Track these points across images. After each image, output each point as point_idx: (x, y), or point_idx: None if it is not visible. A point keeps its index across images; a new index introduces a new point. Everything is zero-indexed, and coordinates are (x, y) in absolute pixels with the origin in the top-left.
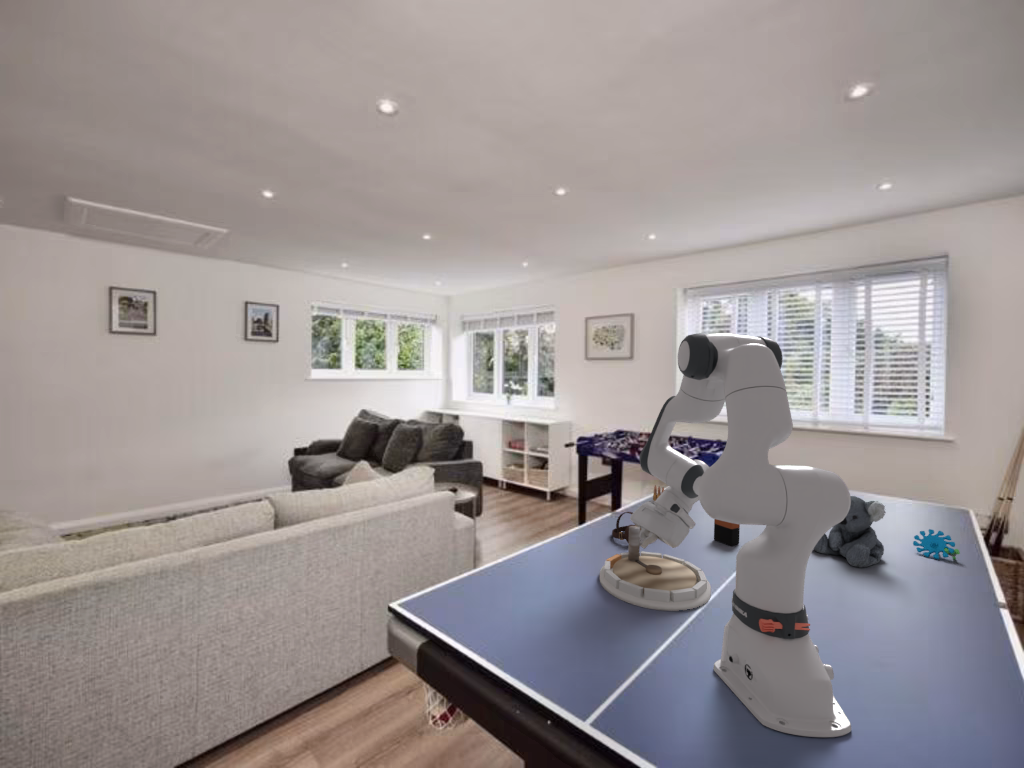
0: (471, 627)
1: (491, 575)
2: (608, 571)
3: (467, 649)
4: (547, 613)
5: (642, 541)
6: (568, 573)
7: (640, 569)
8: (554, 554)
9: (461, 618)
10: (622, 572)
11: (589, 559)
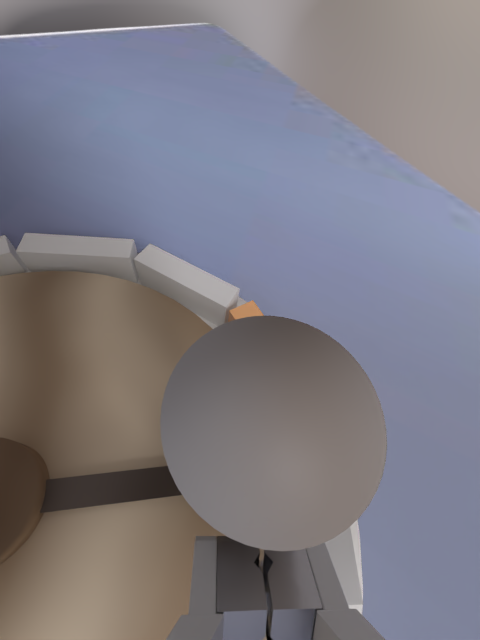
0: (101, 48)
1: (292, 105)
2: (119, 246)
3: (45, 34)
4: (73, 118)
5: (216, 577)
6: (269, 223)
7: (70, 423)
8: (433, 245)
9: (136, 47)
10: (92, 305)
11: (390, 335)
